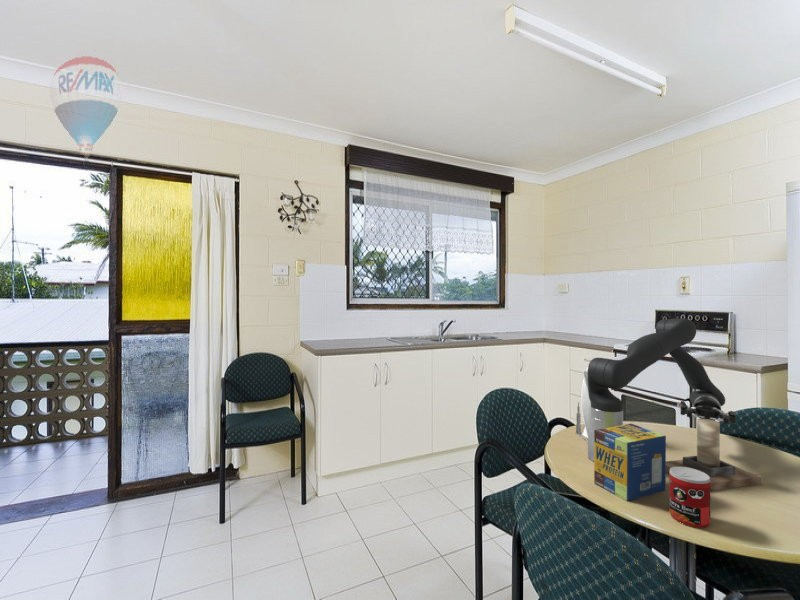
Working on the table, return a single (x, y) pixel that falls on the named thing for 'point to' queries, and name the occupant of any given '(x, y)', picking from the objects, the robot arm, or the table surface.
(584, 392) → the skyscraper
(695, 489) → the canned food
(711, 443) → the birch column
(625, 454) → the protein box
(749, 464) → the table surface
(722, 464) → the base board
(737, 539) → the table surface
